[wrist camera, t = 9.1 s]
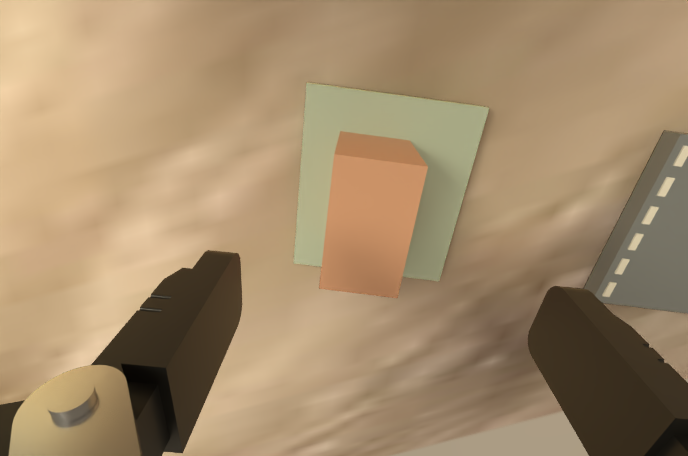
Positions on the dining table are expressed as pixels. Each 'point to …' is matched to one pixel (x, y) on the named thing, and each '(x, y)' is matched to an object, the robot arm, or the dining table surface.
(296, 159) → the dining table surface
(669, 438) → the robot arm
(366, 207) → the green plate orange block
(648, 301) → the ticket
